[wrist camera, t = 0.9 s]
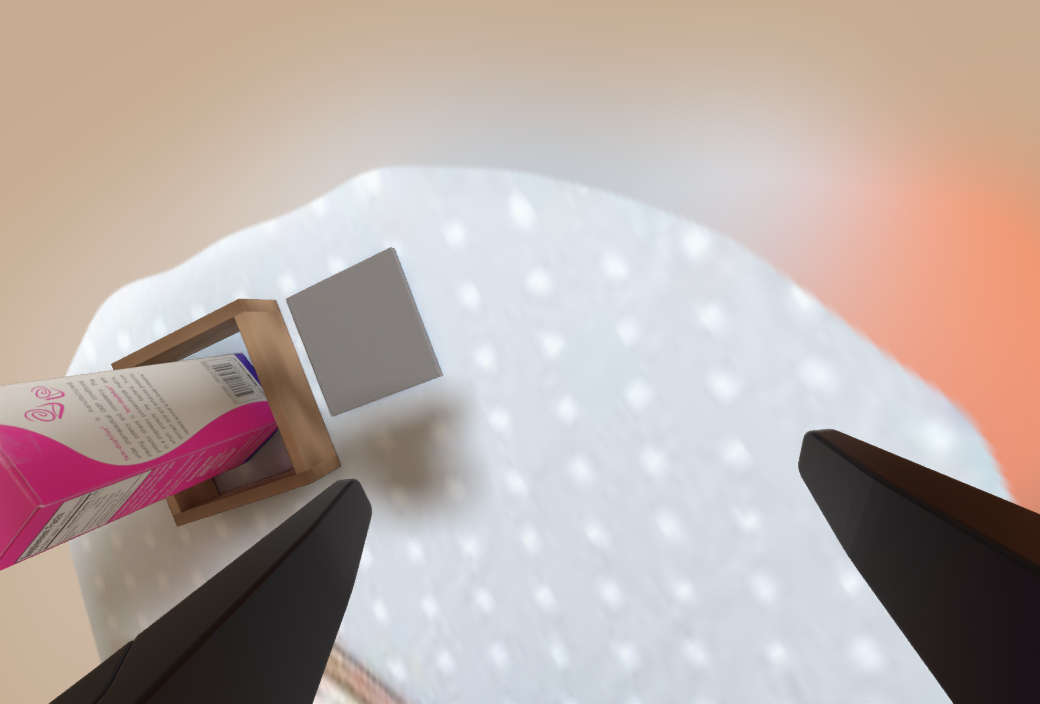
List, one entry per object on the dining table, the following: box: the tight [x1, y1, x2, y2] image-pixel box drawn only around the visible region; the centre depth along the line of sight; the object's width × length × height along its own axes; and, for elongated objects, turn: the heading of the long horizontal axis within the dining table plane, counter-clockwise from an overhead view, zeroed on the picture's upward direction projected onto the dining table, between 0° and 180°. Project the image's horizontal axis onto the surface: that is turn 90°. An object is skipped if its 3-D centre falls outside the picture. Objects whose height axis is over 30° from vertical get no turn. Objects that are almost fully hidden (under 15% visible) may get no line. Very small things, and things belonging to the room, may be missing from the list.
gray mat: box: [286, 247, 443, 417], centre depth 22 cm, size 8×8×1 cm
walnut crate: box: [111, 299, 341, 527], centre depth 24 cm, size 12×12×2 cm
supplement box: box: [0, 353, 278, 570], centre depth 20 cm, size 6×6×12 cm
